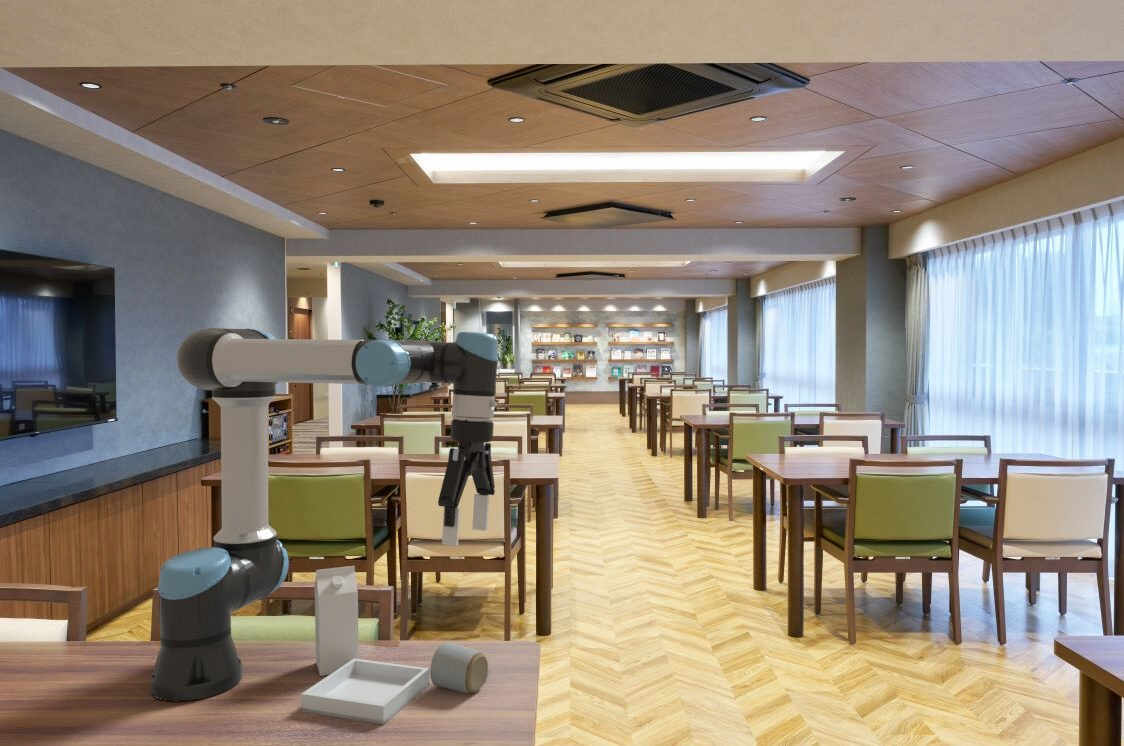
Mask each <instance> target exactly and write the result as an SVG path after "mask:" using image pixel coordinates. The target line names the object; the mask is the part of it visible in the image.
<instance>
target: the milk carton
mask: <svg viewBox="0 0 1124 746" xmlns="http://www.w3.org/2000/svg"><path fill="white" fill-rule="evenodd" d="M355 570H356V567H355V565H350V566H342V567H341V566H340V567H332V568H323V569H321V568H320V569H316V570H315V580H314V624H315V625H314V628H315V631H314V632H315V635H314V636H315V639H314V640H315V662H316V663H315V664H316V668H317V670H318V673H319V674H318V675H319V676H321V677H323V676H329V675H330V674H332V673H333V672H335V671H336V670H338V669H339V668H341V667H342V666H344V665H345V664H347V663H348V662H350V661H351V660H353V659H360V656H359V655H360V652H359V649H360V648H359V598H358V597H359V595H358V594H359V593H358V585H357V579H356V578H357V577H356V571H355Z"/></svg>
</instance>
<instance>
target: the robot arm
mask: <svg viewBox="0 0 1124 746" xmlns="http://www.w3.org/2000/svg"><path fill="white" fill-rule="evenodd" d="M498 344H499V341H498V337H497V336H496V335H495V334H493V333H487V332H476V331H474V332H471V331H459V332H458V333H457V334H456V339H455V341H453V342H451V341H450V342H449V341H447V342H445V341H433V340H419V339H411V338H409V339H400V340H398V339H388V338H387V339H385V338H383V339H381V338H380V339H379V338H378V339H311V338H309V339H303V338H302V339H301V338H299V339H298V338H297V339H296V338H294V339H293V338H291V339H289V338H287V339H286V338H285V339H283V338H276V337H275V336H274V335H273V334H271V333H269V332H268V331H264V330H259V329H255V328H254V329H253V328H219V327H209V328H208V327H207V328H202V329H198V330H196V331H194V332H192V333H190V334H189V335H188V336H187V337H185V339H183V341H182V342H181V344H180V346H179V347H178V351H177V354H176V355H177V356H176V364H177V367H178V370H179V372H180V374H181V376H182V377H183V379H185V381H187V383H189V384H190V385H191V386H194V387H195V388H198V389H200V390H201V389H202V390H205V391H211V399H212V400H213V401H214V402H216V404H218V405H219V407H220V441H221V442H220V443H221V444H220V449H221V450H220V455H221V456H220V457H221V459H220V461H221V463H220V465H221V475H220V476H221V529H220V530H218V532H217V533H216V534H215V535H214V536H213V547H200V548H196V549H193V550H187V551H184V552H181V553H178V554H176V555H174V556H172V557H170V558H169V559H167V560H166V561H165V562H164V563H163V564H162V565H161V567H160V570H159V582H158V585H157V590H158V601H159V602H158V603H159V604H158V605H159V633H160V634H159V635H160V648H159V651H158V654H157V658H156V661H155V665H154V668H153V669H154V670H153V672H152V674H151V677H150V694H151V693H152V694H153V695H154V696H156V697H158V698H161V699H166V700H173V701H172V702H182V701H181V700H188V701H195V700H194V699H196V700H200V698H201V699H206V698H209V697H212V696H213V697H214V696H216V695H218V694H221V693H224V692H226V691H228V690H230V689H232V688H234V687H235V686H237V684H239V683H240V682H241V681H242V679H243V663H242V662H243V661H241V658H240V657H239V656H238V652H237V649H236V645H235V643H234V640H233V637H232V613H233V612H236V611H237V610H240V609H242V608H245V607H246V606H248V605H251V604H252V603H255V602H257V601H260V600H263V599H266V598H267V597H268V596H269V595H270V594H272V593H274V592H275V591H276V590H278V589H279V588H280V587H281V586H282V584H283V583H284V581H285V580H286V578H287V575H288V572H289V565H290V563H289V562H290V561H289V560H290V559H289V555H288V551H287V549H286V548H284V547H283V543H282V542H281V541H280V540H278V539H277V537H278V534H277V531H276V529H275V528H273V527H272V526H270V523H269V421H268V419H269V414H268V412H269V411H268V409H269V408H268V407H269V405H270V404H271V402H273V401H274V399H275V398H277V397H276V396H277V395H276V394H277V393H276V392H277V391H276V389H277V388H276V387H277V386H276V385H277V384H279V383H290V384H294V383H296V384H297V383H299V384H336V385H337V384H338V385H339V384H342V385H347V384H348V385H367V386H368V385H371V386H373V387H374V386H376V387H381V388H382V387H392V386H396V385H408V384H418V383H432V384H433V383H435V384H450V385H451V384H452V385H453V393H452V405H451V415H452V416H453V417H454V418H453V419H452V420H451V424H450V425H451V426H450V438H451V440H453V441H457V442H458V446H457V448H454V447H453V448H452V447H450V448H449V451H448V459H447V460H448V462H447V465H446V469H445V472H444V477H443V480H442V485H441V489H440V493H439V497H438V500H437V503H438V506H439V507H443V520H442V537H441V545H444V546H445V545H446V546H452V547H457V546H459V537H460V522H461V521H460V520H461V509H462V508H461V507H459V505H460V502H461V499H462V496H463V493H464V490H465V487H466V484H467V481H468V480H469V479H468V478H469V477H470V476H471V477H472V480H473V483H474V486H475V491H476V493H475V494H474V496H473V513H472V515H473V516H472V530H475V531H476V530H477V531H483V532H484V531H485V532H486V531H488V526H489V525H488V523H489V509H490V508H489V507H490V506H489V505H490V495H491V496H494V495H495V493H496V490H495V479H494V471H493V462H492V456H491V455H492V444H491V442H492V441H493V440H494V425H495V424H494V422H493V421H492V420H491V419H493V418H494V417H495V416H494V415H495V408H497V406H498V403H497V401H495V400H496V389H497V388H496V387H497V374H498V373H497V372H498V362H499V345H498ZM152 694H151V695H152ZM153 695H152V696H153ZM154 696H153V697H154ZM161 699H160V700H161ZM166 700H165V701H166ZM175 700H177V701H175ZM179 700H180V701H179Z"/></svg>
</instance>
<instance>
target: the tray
mask: <svg viewBox="0 0 1124 746" xmlns="http://www.w3.org/2000/svg"><path fill="white" fill-rule="evenodd" d="M429 686H430V668H428V667H421V666H413V665H407V664H399V663H398V664H397V663H391V662H384V661H376V660H368V659H361V658H359V659H353V660H351V661H350V662H348V663H347V664H345V665H344V666H342V667H341V668H339V669H338V670H336V671H335V672H333V673H332V674H329V675H326V677H324V678H323V679H321V680H320V681H318V682H317V683H315V684H314V685H312V686H311V687H309V688H307V689H306V690H305V691H303V692H302V693H301V713H309V714H314V715H320V716H327V717H331V718H332V717H333V718H340V719H346V720H351V721H352V720H353V721H359V722H365V723H370V724H376V725H385V724H386V723H388V722H389V721H390V720H391V719H393V718H394V716H396V715H397V714H398V713H399V712H400V711H401V710H403V708H405V707H406V706H407V705H408V704H409V703H410V702H412V701H413V700H414V699H416V697H417V696H419V695H420V694H421V693H422V692H423V691H424V690H425V689H426V688H428V687H429Z"/></svg>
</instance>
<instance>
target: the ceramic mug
mask: <svg viewBox="0 0 1124 746" xmlns="http://www.w3.org/2000/svg"><path fill="white" fill-rule="evenodd" d="M488 667H489V663H488V659H487V657H486V655H485V653H483V652H481V651H479V650H478V649H473V648H470V647H468V646H467V647H466V646H464V645H461V644H460V645H459V644H457V643H454V642H450V641H445V642H443V643H440V645H439V646H438V647H437V649H436V650H435V652H434V654H433V655H432V659H431V663H430V668H429V677H430V680H431V682H432V684H433V685H434V686H435V687H439V688H443V689H448V690H452V691H456V692H461V693H464V694H465V693H466V694H474V693H477V692H478V691H479V690H480V689H481V688H482V687H483V685H484V683H485V681H486V679H488V678H489V677H488V676H489V675H490V674H489V673H490V669H489V668H488Z"/></svg>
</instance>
